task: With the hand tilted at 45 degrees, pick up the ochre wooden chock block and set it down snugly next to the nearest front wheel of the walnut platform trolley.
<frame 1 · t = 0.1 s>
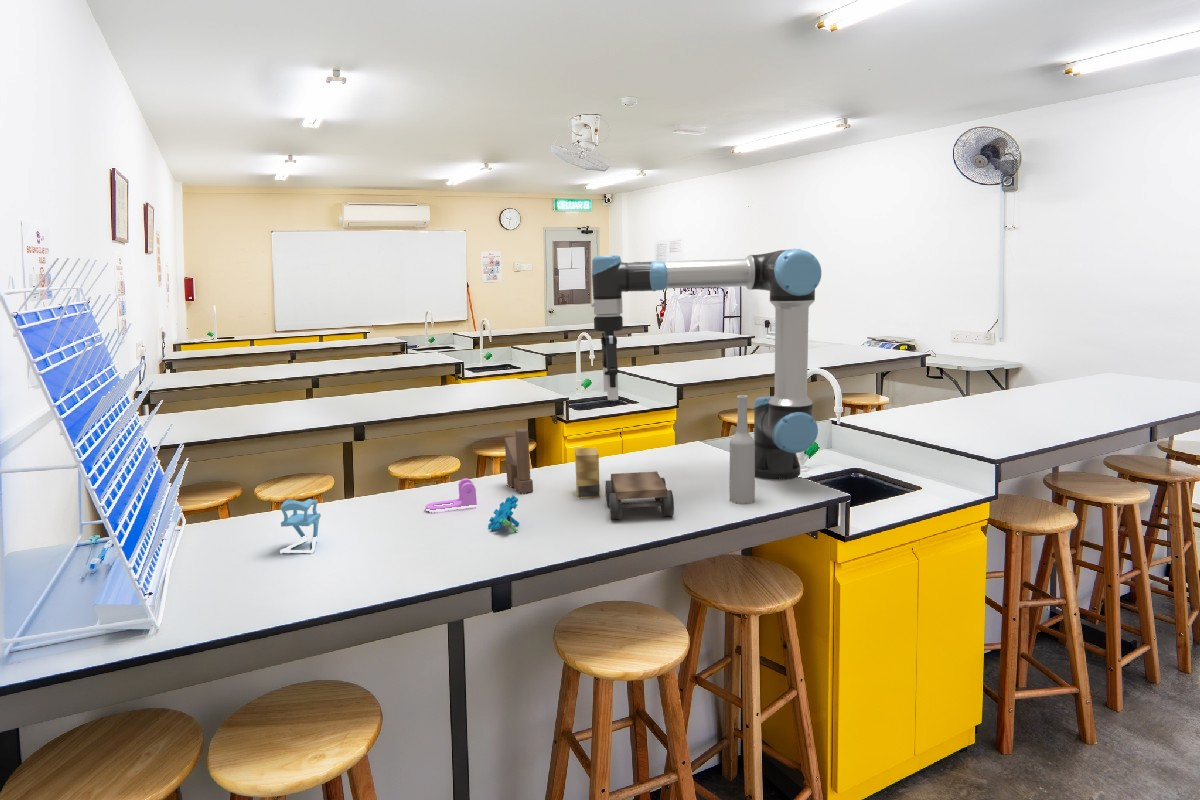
hand: (610, 395, 196), 28 cm above the countertop, tool pointing down, fingers open, 13 cm apart
bracket: (450, 509, 196), on the countertop
bottle: (742, 500, 194), on the countertop
chock block: (587, 493, 204), on the countertop
chair: (304, 548, 171), on the countertop
trolley: (638, 509, 189), on the countertop
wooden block: (520, 489, 211), on the countertop
gear: (504, 529, 179), on the countertop
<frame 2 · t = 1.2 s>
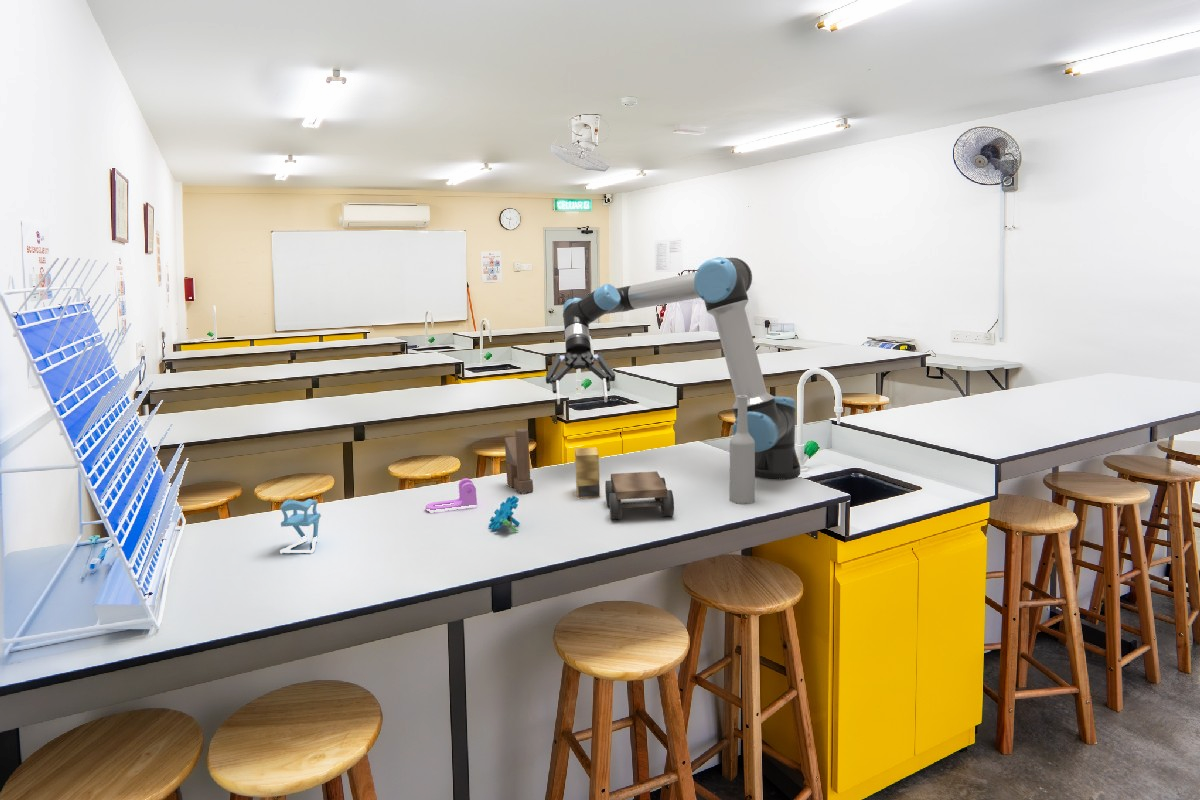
hand: (582, 400, 210), 24 cm above the countertop, tool tilted 45°, fingers open, 13 cm apart
nothing on the countertop moved.
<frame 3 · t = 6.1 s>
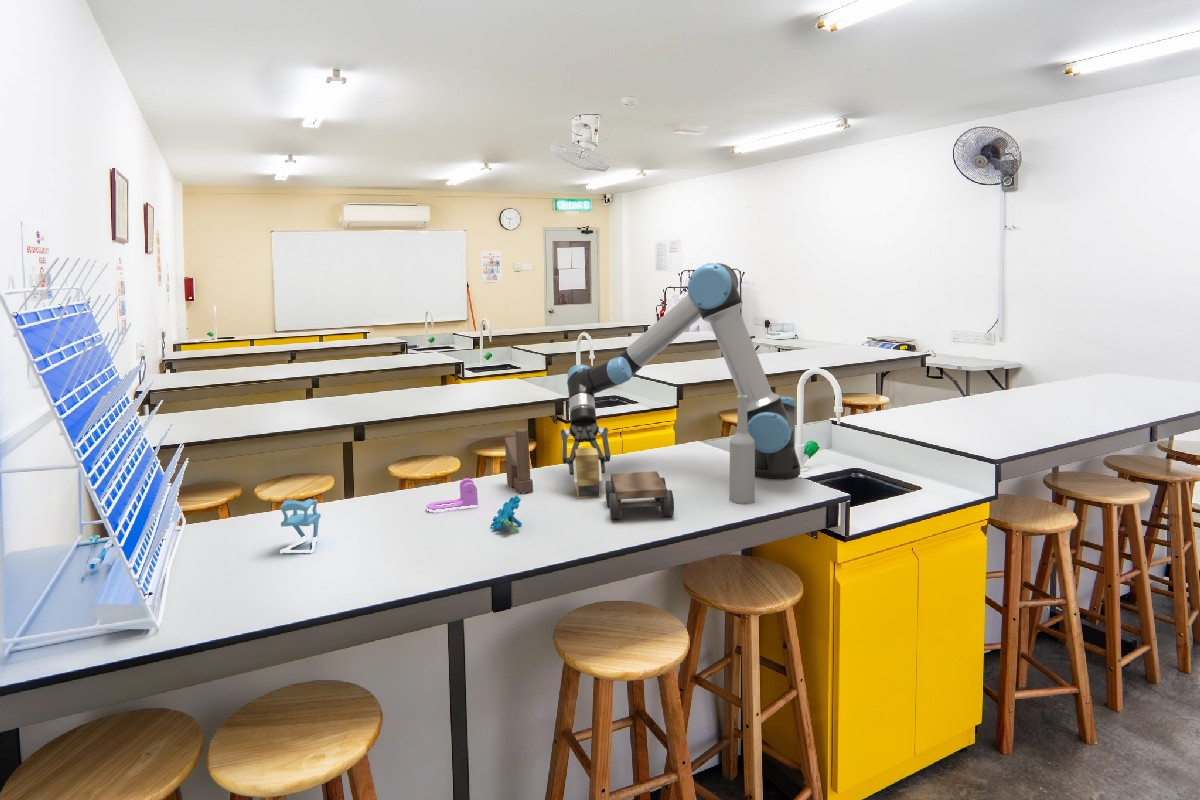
hand: (588, 483, 200), 4 cm above the countertop, tool tilted 45°, fingers closed on chock block, 6 cm apart
chock block: (587, 493, 204), on the countertop, touching gripper
everything else where it was.
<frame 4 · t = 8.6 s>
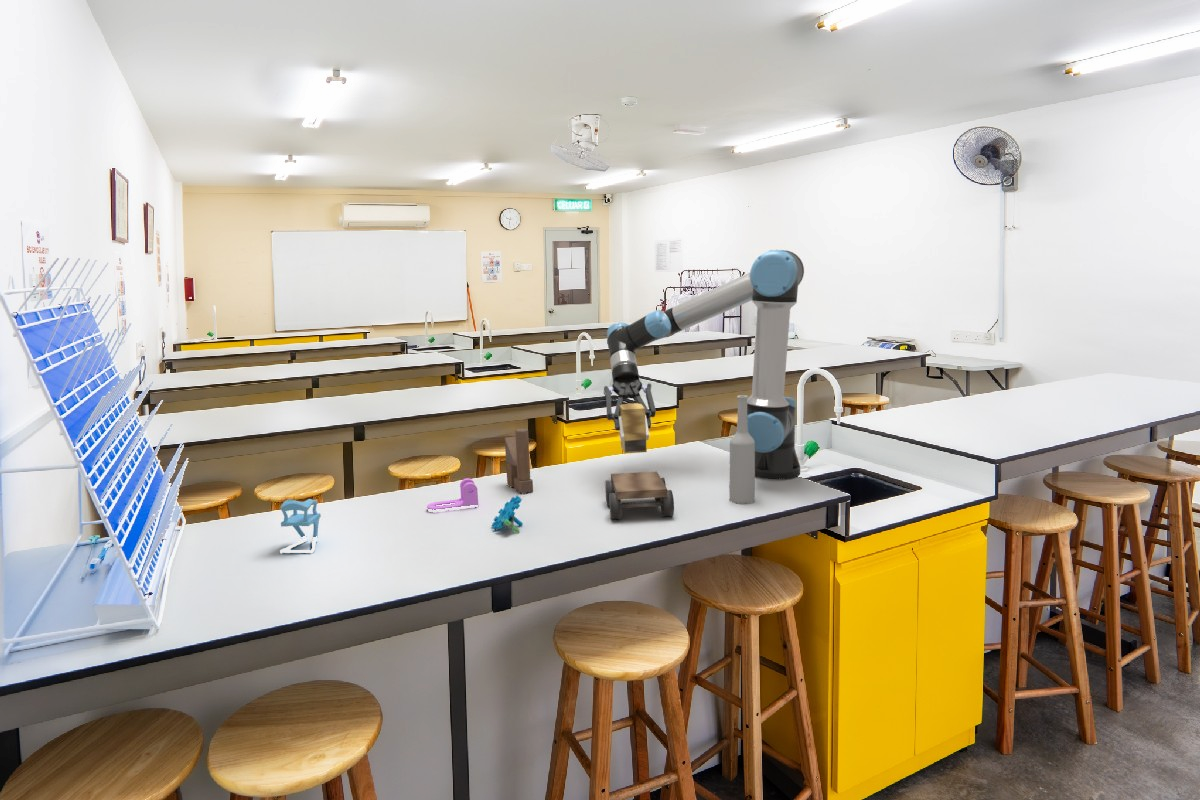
hand: (635, 438, 197), 16 cm above the countertop, tool tilted 45°, fingers closed on chock block, 6 cm apart
chock block: (633, 449, 202), point 12 cm above the countertop, touching gripper
everything else where it was.
when the fingers open (5 cm above the countertop, at t = 11.4 s): chock block drops 2 cm, on the countertop.
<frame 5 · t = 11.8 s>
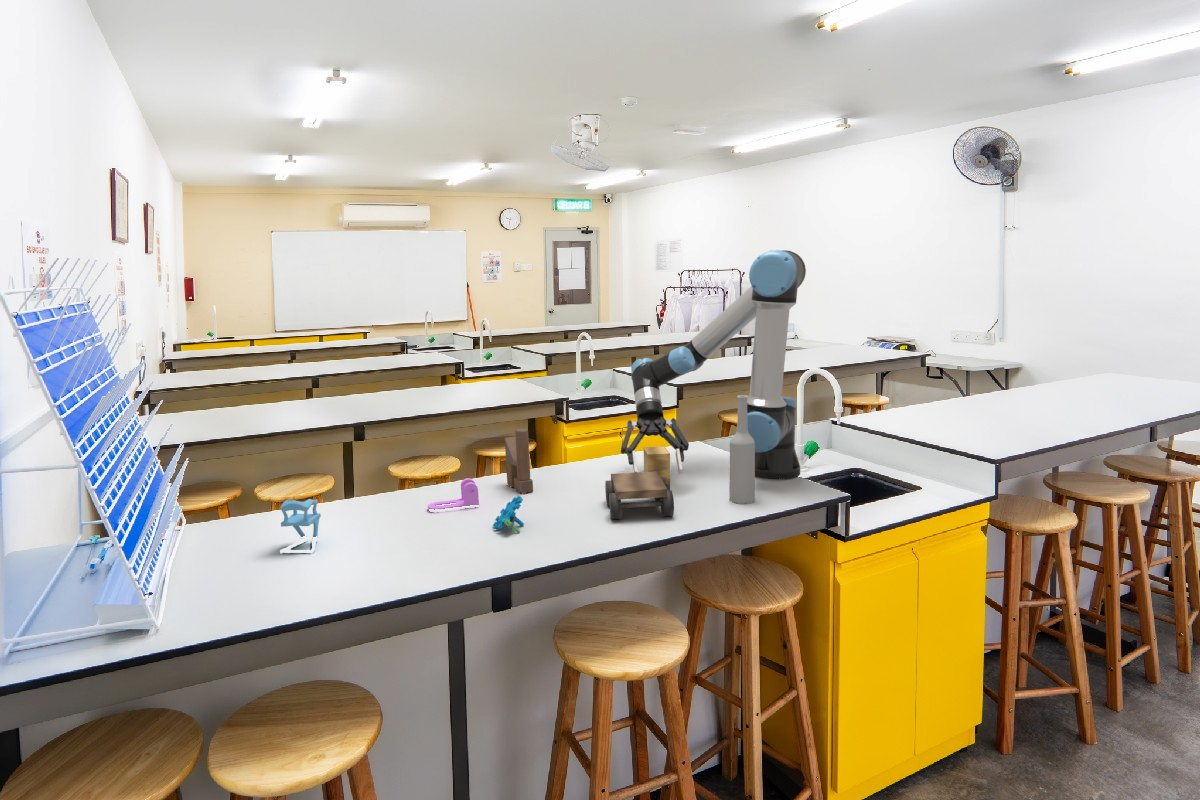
hand: (658, 473, 199), 6 cm above the countertop, tool tilted 45°, fingers open, 11 cm apart
chock block: (657, 492, 203), on the countertop
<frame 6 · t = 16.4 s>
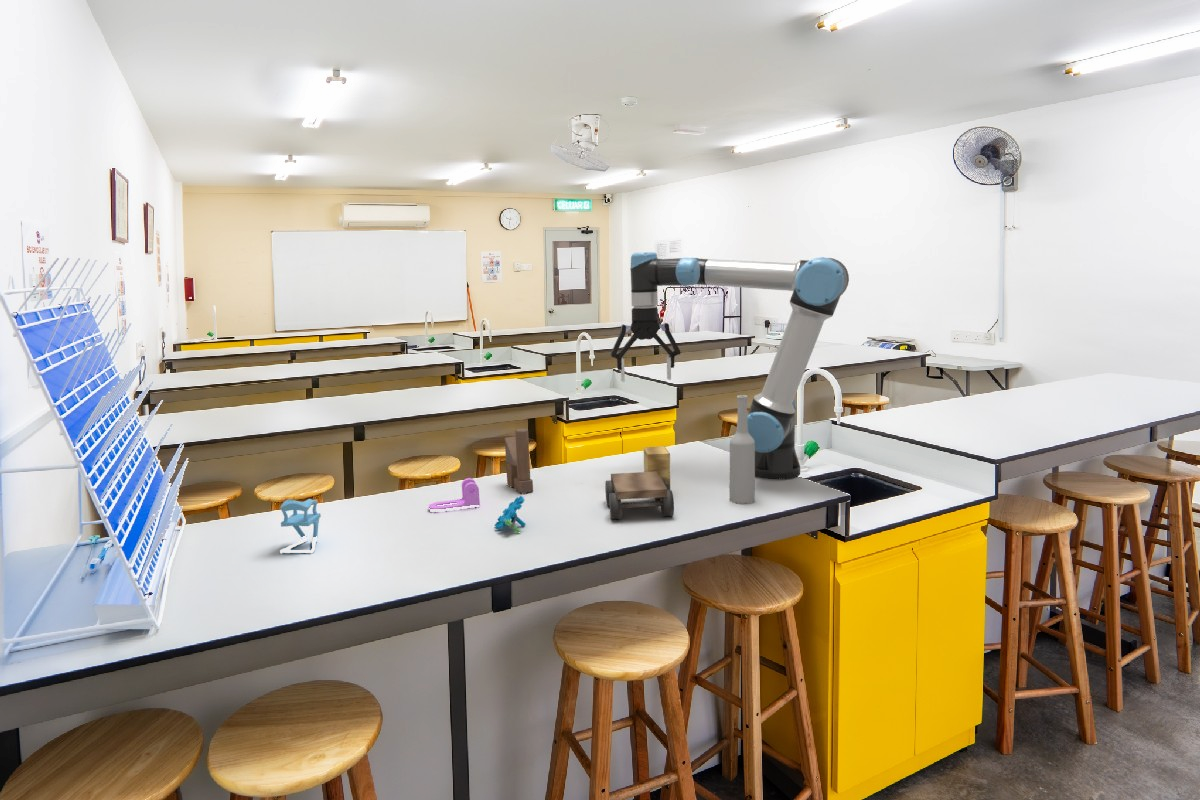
hand: (646, 380, 215), 29 cm above the countertop, tool pointing down, fingers open, 13 cm apart
at the end: chock block inside the target area (0.0 cm from its centre), on the countertop; chock block tilted 0°; the gripper is holding nothing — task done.
